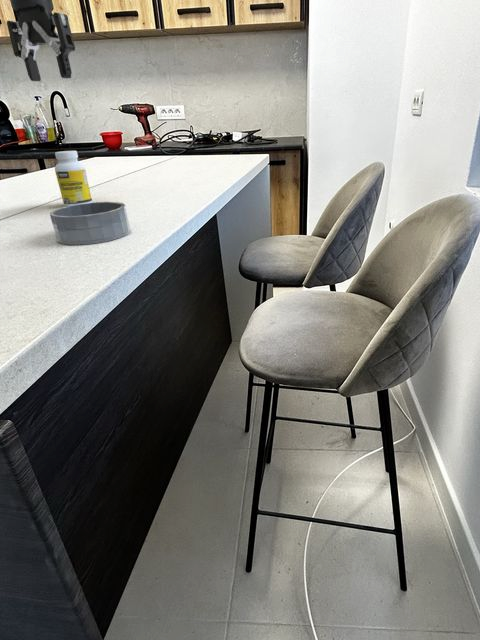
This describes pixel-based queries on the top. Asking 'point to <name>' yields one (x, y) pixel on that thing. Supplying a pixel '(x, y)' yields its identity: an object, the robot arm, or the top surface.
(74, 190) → the pill bottle
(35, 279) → the top surface
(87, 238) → the dish
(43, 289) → the top surface
